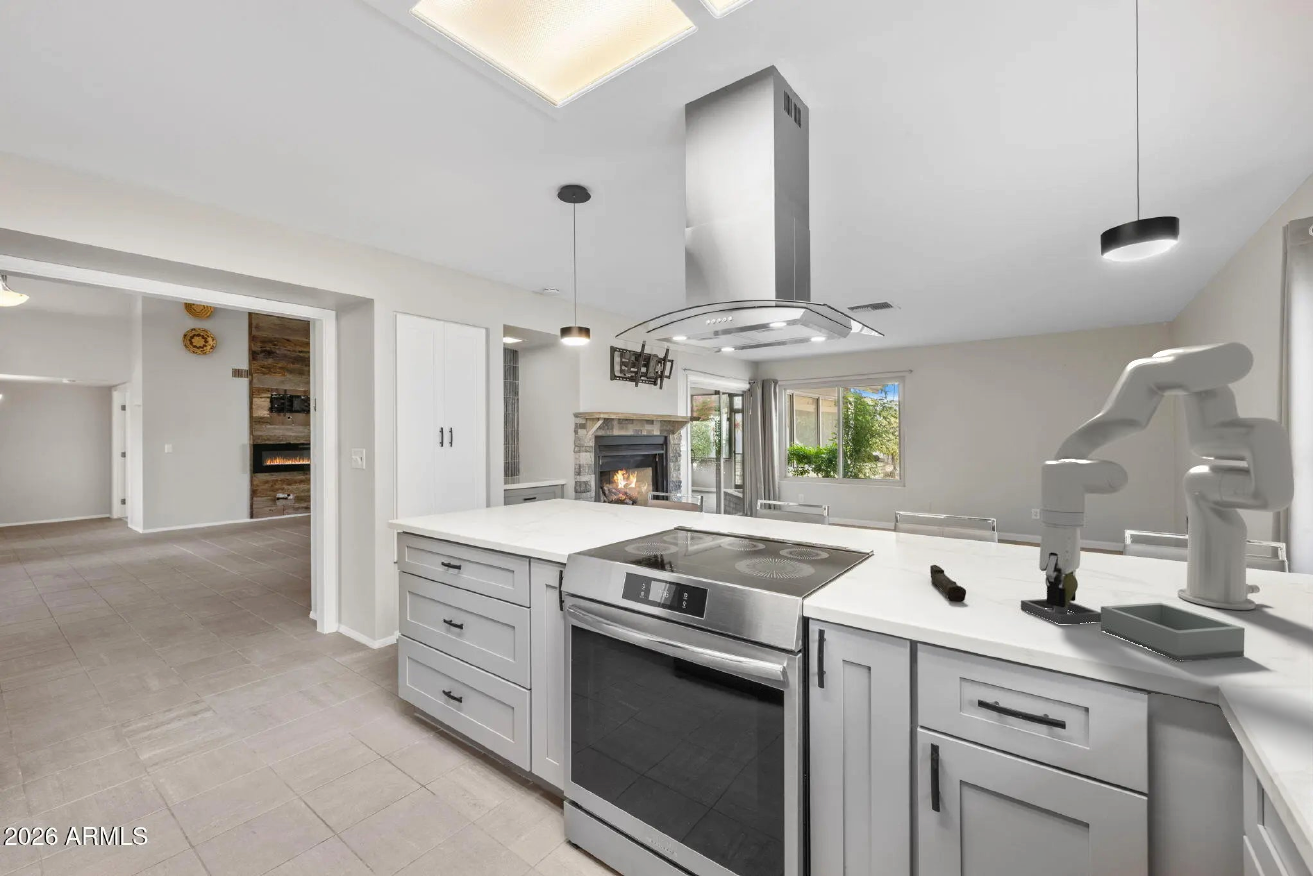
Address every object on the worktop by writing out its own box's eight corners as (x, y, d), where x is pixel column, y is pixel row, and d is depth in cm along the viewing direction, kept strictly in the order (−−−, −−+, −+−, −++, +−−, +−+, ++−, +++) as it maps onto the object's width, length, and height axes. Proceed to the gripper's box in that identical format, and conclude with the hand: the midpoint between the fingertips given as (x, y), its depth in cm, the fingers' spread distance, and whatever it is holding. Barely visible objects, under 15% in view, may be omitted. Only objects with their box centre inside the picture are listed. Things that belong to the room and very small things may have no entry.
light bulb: (1083, 618, 116) (1084, 571, 116) (1064, 621, 114) (1064, 573, 114) (1058, 610, 121) (1058, 565, 121) (1038, 612, 120) (1039, 567, 119)
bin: (1159, 627, 111) (1160, 602, 111) (1243, 655, 97) (1244, 628, 97) (1100, 631, 109) (1100, 606, 109) (1177, 661, 95) (1178, 633, 95)
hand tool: (966, 604, 127) (966, 584, 126) (947, 602, 127) (947, 582, 127) (943, 581, 145) (943, 563, 145) (927, 580, 146) (927, 562, 146)
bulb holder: (1060, 606, 123) (1060, 597, 123) (1102, 622, 114) (1102, 613, 114) (1020, 609, 122) (1020, 600, 122) (1060, 625, 112) (1060, 616, 112)
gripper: (1055, 512, 125) (1054, 590, 126) (1026, 520, 115) (1025, 606, 115) (1096, 516, 119) (1095, 598, 120) (1069, 525, 109) (1068, 616, 110)
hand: (1061, 601), depth 118 cm, fingers closed on light bulb, 5 cm apart
